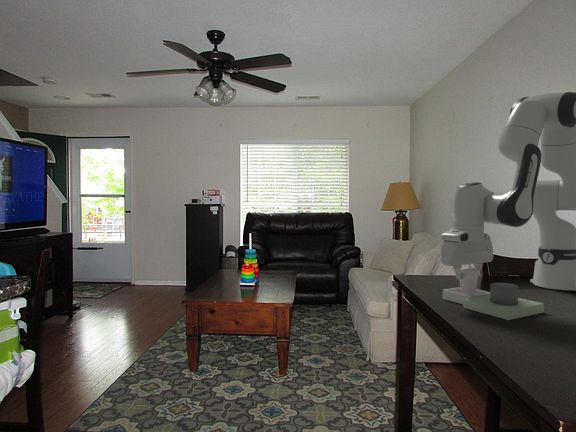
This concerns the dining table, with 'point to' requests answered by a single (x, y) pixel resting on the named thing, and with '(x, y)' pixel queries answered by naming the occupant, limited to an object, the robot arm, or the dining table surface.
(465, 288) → the smoothie
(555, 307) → the dining table surface
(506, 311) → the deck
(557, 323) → the dining table surface
